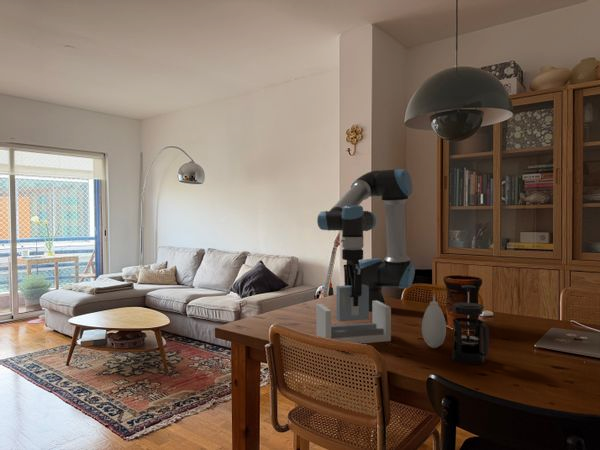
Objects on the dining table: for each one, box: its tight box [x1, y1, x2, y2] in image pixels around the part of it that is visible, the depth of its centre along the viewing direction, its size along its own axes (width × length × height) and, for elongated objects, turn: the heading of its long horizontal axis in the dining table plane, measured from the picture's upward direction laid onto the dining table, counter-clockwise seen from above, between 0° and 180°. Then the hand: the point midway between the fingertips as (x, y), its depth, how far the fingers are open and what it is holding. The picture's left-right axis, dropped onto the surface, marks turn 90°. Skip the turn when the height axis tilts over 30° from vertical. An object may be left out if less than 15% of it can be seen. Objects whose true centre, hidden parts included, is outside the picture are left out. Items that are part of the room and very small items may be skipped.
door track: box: [315, 301, 392, 344], centre depth 156 cm, size 24×12×12 cm, turn 103°
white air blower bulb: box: [421, 295, 447, 349], centre depth 145 cm, size 8×8×18 cm
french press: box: [451, 285, 490, 366], centre depth 132 cm, size 12×9×23 cm
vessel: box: [443, 274, 483, 331], centre depth 170 cm, size 14×14×20 cm
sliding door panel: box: [335, 285, 370, 322], centre depth 155 cm, size 11×4×12 cm, turn 103°
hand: (352, 313), depth 156 cm, fingers closed on sliding door panel, 3 cm apart
